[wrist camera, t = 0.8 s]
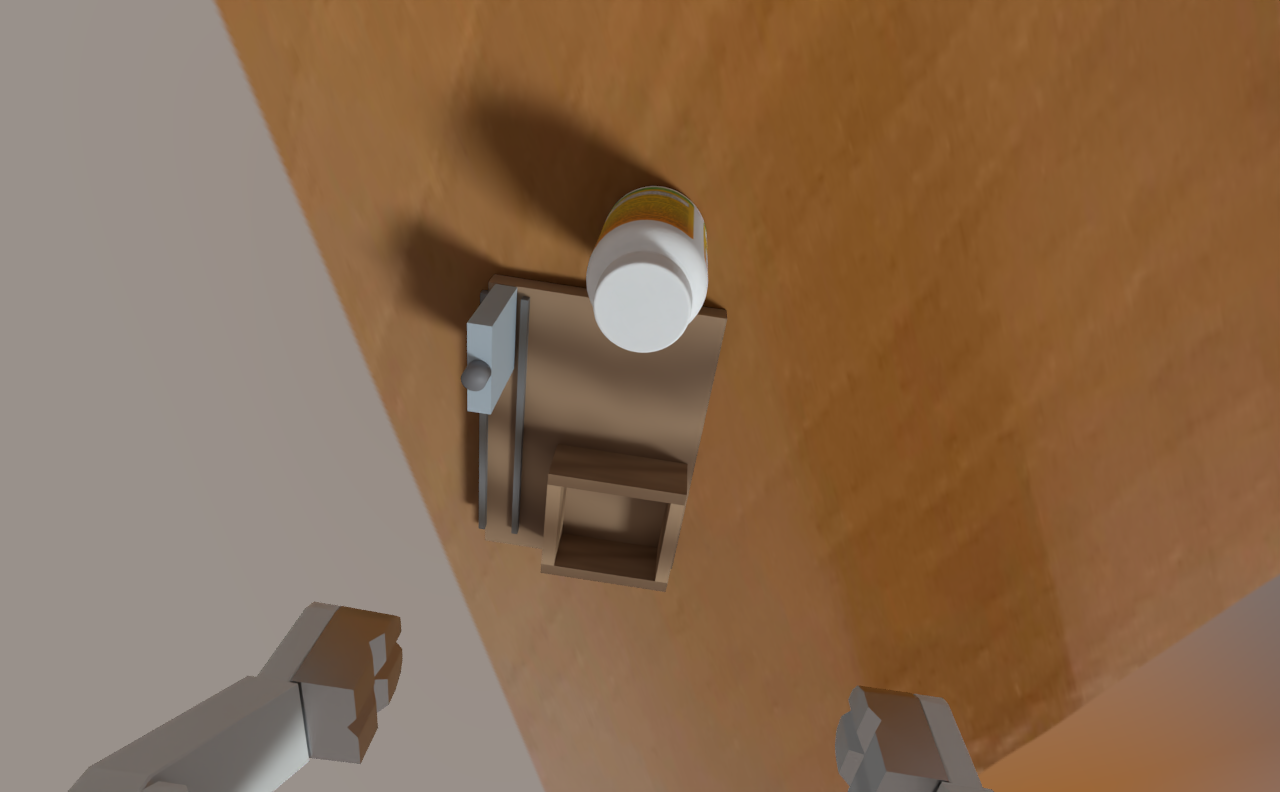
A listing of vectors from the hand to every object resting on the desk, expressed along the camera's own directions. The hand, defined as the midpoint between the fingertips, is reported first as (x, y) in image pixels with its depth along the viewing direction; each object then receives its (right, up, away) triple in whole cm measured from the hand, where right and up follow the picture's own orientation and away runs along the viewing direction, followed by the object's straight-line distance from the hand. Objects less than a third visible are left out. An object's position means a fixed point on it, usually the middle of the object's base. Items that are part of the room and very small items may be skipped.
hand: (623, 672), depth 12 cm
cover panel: (-7, +9, +25) cm, 27 cm away
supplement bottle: (+1, +13, +23) cm, 27 cm away
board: (-3, +3, +29) cm, 30 cm away
